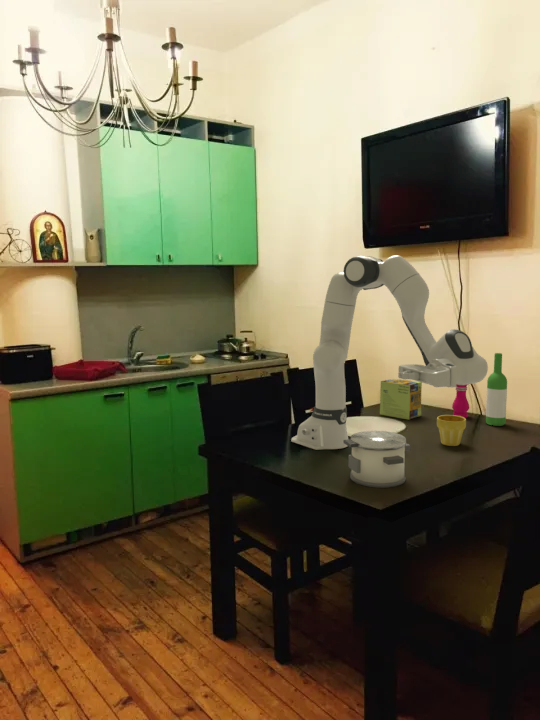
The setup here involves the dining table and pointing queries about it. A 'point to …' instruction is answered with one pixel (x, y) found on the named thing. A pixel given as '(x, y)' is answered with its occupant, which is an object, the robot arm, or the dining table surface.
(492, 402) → the wine bottle
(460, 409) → the pepper mill
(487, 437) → the dining table surface
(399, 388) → the protein box
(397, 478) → the cooker
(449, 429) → the plant pot
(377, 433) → the lid
